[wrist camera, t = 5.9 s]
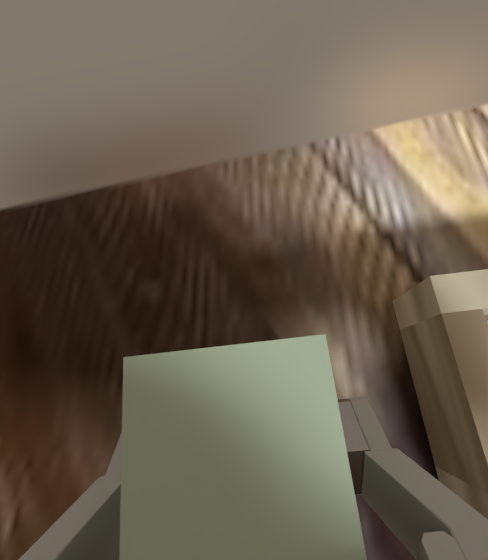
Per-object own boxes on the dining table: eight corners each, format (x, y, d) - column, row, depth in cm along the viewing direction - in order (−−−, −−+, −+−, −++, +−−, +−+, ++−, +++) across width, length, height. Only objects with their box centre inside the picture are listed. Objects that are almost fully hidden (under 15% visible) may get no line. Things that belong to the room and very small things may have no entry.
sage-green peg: (219, 461, 14) (117, 615, 5) (212, 371, 16) (123, 356, 6) (305, 452, 14) (373, 596, 5) (292, 362, 15) (325, 333, 6)
